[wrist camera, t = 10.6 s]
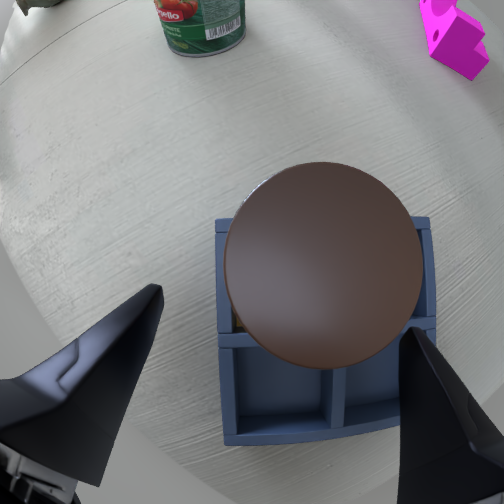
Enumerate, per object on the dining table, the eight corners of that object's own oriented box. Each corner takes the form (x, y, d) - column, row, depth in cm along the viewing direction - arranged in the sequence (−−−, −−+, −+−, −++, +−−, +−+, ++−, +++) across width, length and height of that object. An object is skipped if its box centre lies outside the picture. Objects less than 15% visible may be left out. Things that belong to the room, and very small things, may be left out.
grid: (404, 401, 17) (428, 416, 14) (229, 421, 18) (224, 445, 14) (404, 228, 19) (429, 216, 16) (222, 231, 19) (215, 218, 16)
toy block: (471, 80, 22) (502, 46, 14) (430, 56, 22) (457, 15, 14) (454, 22, 23) (472, -7, 16) (419, 3, 24) (435, -29, 16)
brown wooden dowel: (310, 313, 18) (425, 354, 5) (246, 316, 18) (226, 376, 5) (307, 249, 18) (409, 165, 5) (244, 252, 18) (221, 162, 5)
